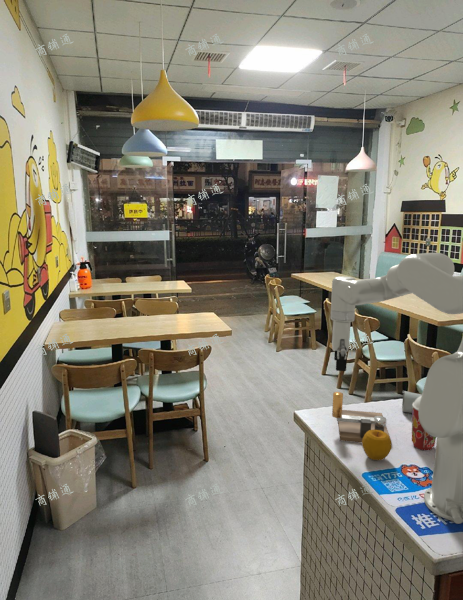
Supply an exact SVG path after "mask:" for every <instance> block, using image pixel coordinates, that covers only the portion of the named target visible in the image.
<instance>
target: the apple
mask: <svg viewBox="0 0 463 600" xmlns="http://www.w3.org/2000/svg"><path fill="white" fill-rule="evenodd" d="M389 436H390V434H389V435H388V434H386V433H385V432H383V431H381V430H369V431H367V432H366V433H365V435H364V437H363V440H362V443H361V446H362V448H363V451H364V453H365V455H366V456H367V457H368V459H371V460H372V461H383V460H384V459H385V458H386V457H388V456H389V454H390V453H391V450H392V440H391V437H389Z"/></svg>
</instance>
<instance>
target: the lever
mask: <svg viewBox="0 0 463 600" xmlns="http://www.w3.org/2000/svg"><path fill="white" fill-rule="evenodd" d="M343 399H344V394H343V392H340V391H334V392H333V395H332V409H331V410H332V412H331V416H332V417H333V418H335V419H336V421H337V422H338V421H343V422H354V423H361V419H370V420H371V424H374V425H375V426H377V427H385V426H386V427H387V418H386V417H384V416H383V417H382V416H375V417H374V418H372V417H360V416H349V415H342V410H343Z"/></svg>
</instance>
